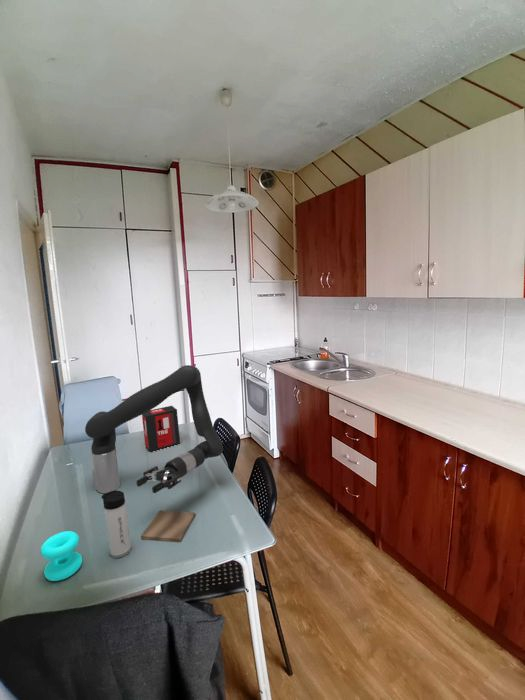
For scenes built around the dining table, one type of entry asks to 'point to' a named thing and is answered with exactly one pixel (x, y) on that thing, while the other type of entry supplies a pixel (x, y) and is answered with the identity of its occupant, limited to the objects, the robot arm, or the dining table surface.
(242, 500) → the dining table surface
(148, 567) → the dining table surface
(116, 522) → the travel mug
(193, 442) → the dining table surface
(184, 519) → the walnut board
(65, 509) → the dining table surface
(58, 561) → the cyan spool
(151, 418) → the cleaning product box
